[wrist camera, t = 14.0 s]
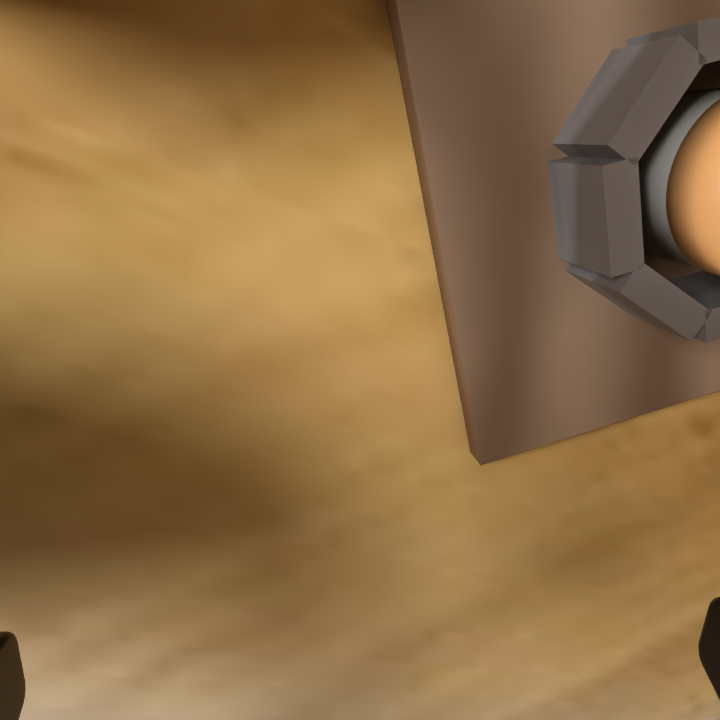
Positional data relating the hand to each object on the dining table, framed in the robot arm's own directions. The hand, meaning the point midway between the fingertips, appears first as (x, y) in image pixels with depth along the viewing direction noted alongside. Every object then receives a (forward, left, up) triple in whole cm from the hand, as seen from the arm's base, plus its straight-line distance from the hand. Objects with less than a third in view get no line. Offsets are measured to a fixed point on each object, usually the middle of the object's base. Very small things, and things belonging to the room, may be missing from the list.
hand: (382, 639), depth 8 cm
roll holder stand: (+13, +4, -13) cm, 19 cm away
